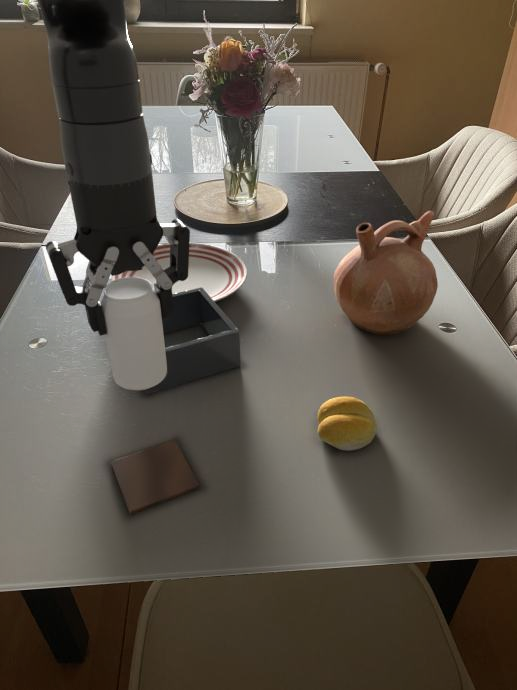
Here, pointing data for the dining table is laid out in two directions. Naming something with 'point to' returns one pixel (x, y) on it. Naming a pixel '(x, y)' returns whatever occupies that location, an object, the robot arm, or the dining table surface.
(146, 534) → the dining table surface
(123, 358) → the beverage can
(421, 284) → the jug
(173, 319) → the grey open box
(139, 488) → the coaster
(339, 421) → the bread roll
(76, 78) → the robot arm
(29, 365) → the dining table surface
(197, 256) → the dinner plate
